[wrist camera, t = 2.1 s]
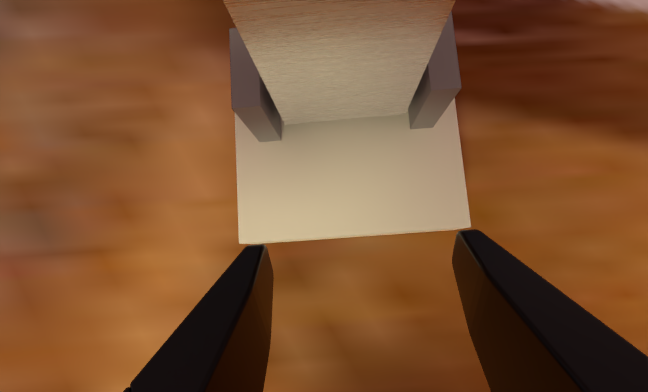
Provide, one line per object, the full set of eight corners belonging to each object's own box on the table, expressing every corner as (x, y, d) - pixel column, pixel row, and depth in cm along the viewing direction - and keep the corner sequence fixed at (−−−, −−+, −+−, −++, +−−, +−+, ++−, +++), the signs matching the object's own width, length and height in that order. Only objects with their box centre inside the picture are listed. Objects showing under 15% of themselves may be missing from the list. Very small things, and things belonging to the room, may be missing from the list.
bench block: (453, 230, 18) (514, 219, 11) (253, 244, 18) (202, 241, 12) (431, 42, 19) (473, -62, 13) (246, 60, 20) (197, -31, 13)
